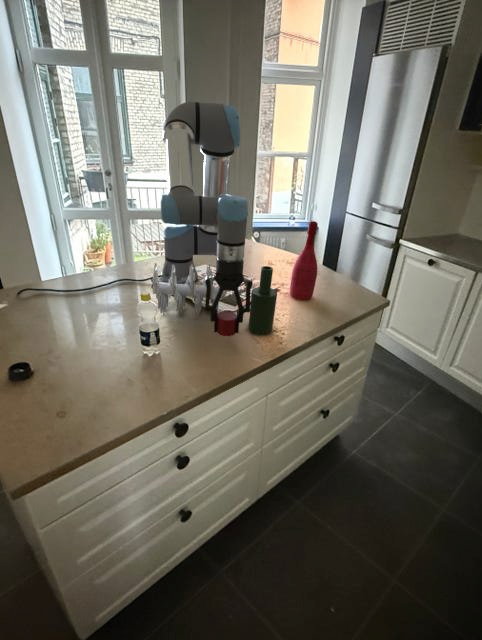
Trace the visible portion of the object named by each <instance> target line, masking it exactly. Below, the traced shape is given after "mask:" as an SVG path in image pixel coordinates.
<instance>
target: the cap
mask: <svg viewBox="0 0 482 640" xmlns="http://www.w3.org/2000/svg"><path fill="white" fill-rule="evenodd" d="M236 323H237V313H236V312H233V311H229V310H223V311H219V312H217V332H216V334H217V335H218V336H221V337H231V336H234V335H236V334H237V333H236Z"/></svg>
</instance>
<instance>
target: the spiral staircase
mask: <svg viewBox="0 0 482 640" xmlns="http://www.w3.org/2000/svg"><path fill="white" fill-rule="evenodd" d="M193 269H194V267H193V264H191V266H190V270H189V275H188V280H186V283H185V284H176V276H175V265H173V264H172V273H171V277H170V279H169V283H167V282H159V278H158V276H159V273H158V264H157V262H155V263H154V267H153V275H152V277H153V279H152V294H153V295H155V297H156V299H157V309H158V310H159V313H160V314H162V316H165V313H167V308H169V304H170V299H171V296H173V300H174V301H175V303H176V309H175V310H176V312H178V313H177V314H178V316H181V317H182V316H183V313H184V308H185V307H186V299H187V298H188V297H191V299H193V302H194V308H195V311H196V314H197V317H199V316H200V314H201V310H203V302H204V299H206V290H207V286H206V283H205V278H204V280H202V281H203V282H202V284H201V285H197V283H196V281H195V272H194V273H193ZM212 272H213V271H212V268H211V265H210V264H209V265H207V266H206V272H205V273H206V274H205V277H206V276H209V277H212V276H214V275H213V273H212ZM218 288H219V285H217V286H215V285H214V283H213V284H212V285H211V293H210V303H211V305H212V304H213V301H214V298H215V296H216V293H217V291H218ZM226 291H227V290H226ZM226 291H223V293H222V295H221V297H220V300H226ZM219 305H220V302H219V303H218V305H217V308H216V309H217V310H219Z"/></svg>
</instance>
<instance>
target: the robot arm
mask: <svg viewBox="0 0 482 640" xmlns="http://www.w3.org/2000/svg"><path fill="white" fill-rule="evenodd" d="M240 125H241V124H240V116H239V111H238V109H237V107H236V106H234V105H232V104H231V105H230V104H225V103H215V102H214V103H213V102H197V101H186V102H182V103H181V104H179V105H176V106H175V108H173V109H172V110H171V112H170V113H169V114H168V116H167V117H166V119H165V121H164V124H163V127H162V139H163V143H164V144H165V146H166V176H167V177H166V181H167V182H166V183H167V193H165V194H162V195H161V196H160V217H161V222H162V223H164V224H165V225H164V227H163V236H162V237H163V241H164V242H163V243H164V246H163V247H164V262H163V267H162V270H161V272H160V273H161V274H160V275H159V274H158V279H159V278H161V280H162V281H163V282H164V283H169V279H170V277H171V273H172V264H173V265H175V276H176V284H185V283H186V280H188V275H189V270H190V266H191V264H193V267H194V269H193V273H194V272H195V282H196V281H197V280H198V272H197V269H196V266H195V263H194V256H214V257H217V258H216V259H215V261H216V262H215V263H216V265H215V267H216V268H215V274H214V275H213V276H212V275H211V277H209V276H206V275H205V277H204V279H205V283H206V286H207V290H206V298H205V302H204V304H205V305H204V310H205V311H206V312H210V322H211V323H212V322H213V324H214V325H213V332H214V333H217V314H218V309H216V308H217V305H218V303H219V304H220V300H221V299H220V297H221V295H222V293H223V291H229V292H230V291H231V292H233V294H234V296H235V300H236V304H237V308H238V310H236V315H237V323H236V333H235V334H239V331H240V330H239V329H240V324H243V323H244V316H245V314H246V313H247V314H248V313H249V314H250V305H251V290H252V287H253V285H254V283H253V279H252V278H251V277H249V278H247V277H245V276H244V263H245V262H244V261H245V260H244V258H245V250H246V249H245V248H246V237H247V235H246V234H247V223H248V216H249V210H248V209H249V208H248V207H249V201H248V200H247V199H246V197H242V196H239V195H231V194H228V193H227V191H228V190H227V189H228V179H229V178H228V177H229V176H228V175H229V166H230V165H229V164H230V158H231V157H232V156H233V155H234V154H235V149H237V148H239V147H240V145H241V144H240V143H241V127H240ZM193 145H195V146H196V145H197V146H199V150H200V152H201V153H202V154H203V155H204V160H203V161H204V162H203V189H202V191H203V194H202V195H195V184H194V183H195V182H194V181H195V180H194V165H193V164H194V163H193V151H192V149H193V148H192V147H193ZM150 280H153V276H150V277H147V278H142V279H137V278H136V279H135V278H120V279H115V280H112V281H109V282H106V283H103V284H99V285H95V286H91V287H85V288H77V289H55V288H34V287H33V288H32V287H28V288H27V287H25V288H23V289H21V290H19V291H18V292H17V293H16V295H17V296H18V295H20V294H22V293H23V292H26V291H36V292H56V293H75V292H84V291H90V290H94V289H99V288H103V287H105V286H106V287H107V286H110V285H112V284H115V283H118V282H124V281H127V282H128V281H129V282H146V281H150ZM214 282H215V283H216V284H217V286H219V288H218V291H217V293H216V296H215V298H214V301H213V304H212V303H211V300H210V293H211V285H212V284H213V285H214ZM243 283H244V284H243ZM242 284H243V285H244V287H245V306H243V305H244V304H243V301H242V298H241V297H242V296H241V294H240V289H239V288H240V286H241V285H242ZM210 303H211V304H210Z"/></svg>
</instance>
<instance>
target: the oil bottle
mask: <svg viewBox="0 0 482 640" xmlns="http://www.w3.org/2000/svg"><path fill="white" fill-rule="evenodd" d="M273 272H274V268H273V267H272V266H269V265H264V266H261V268H260V275H259V276H260V278H259V286H256V287H254V288H252V289H251V293H250V312H249V316H248V328H247V329H248V331H249V332H250V333H251V334H253V335H256V336H268V335H270V334H271V333H272V332H273V328H274V322H275V321H274V320H275V314H276V306H277V298H278V292H277V290H276V289H274V288H272V281H273Z"/></svg>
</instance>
